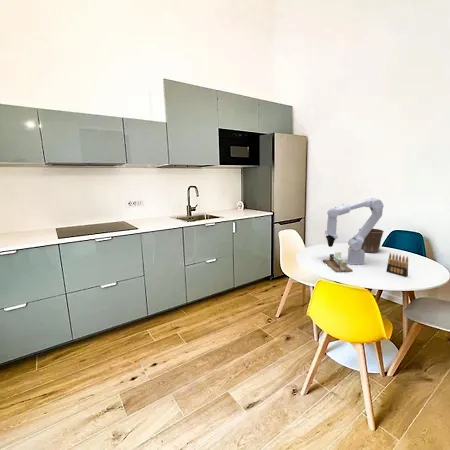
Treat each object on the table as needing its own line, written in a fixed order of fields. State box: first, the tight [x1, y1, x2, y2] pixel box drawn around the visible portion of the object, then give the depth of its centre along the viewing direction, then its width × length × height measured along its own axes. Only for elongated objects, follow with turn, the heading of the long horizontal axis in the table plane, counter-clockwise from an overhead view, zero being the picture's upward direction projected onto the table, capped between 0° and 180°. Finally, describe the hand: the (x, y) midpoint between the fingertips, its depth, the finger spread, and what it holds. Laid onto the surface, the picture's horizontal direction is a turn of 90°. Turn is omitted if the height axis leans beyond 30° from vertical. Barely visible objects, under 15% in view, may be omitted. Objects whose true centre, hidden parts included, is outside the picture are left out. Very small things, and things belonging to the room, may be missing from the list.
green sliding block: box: [334, 251, 344, 264], centre depth 163 cm, size 4×4×6 cm
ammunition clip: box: [385, 252, 409, 278], centre depth 150 cm, size 11×2×12 cm, turn 33°
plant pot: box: [358, 228, 384, 254], centre depth 195 cm, size 16×16×16 cm
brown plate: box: [322, 253, 354, 273], centre depth 166 cm, size 10×20×6 cm, turn 2°
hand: (330, 246), depth 174 cm, fingers closed
